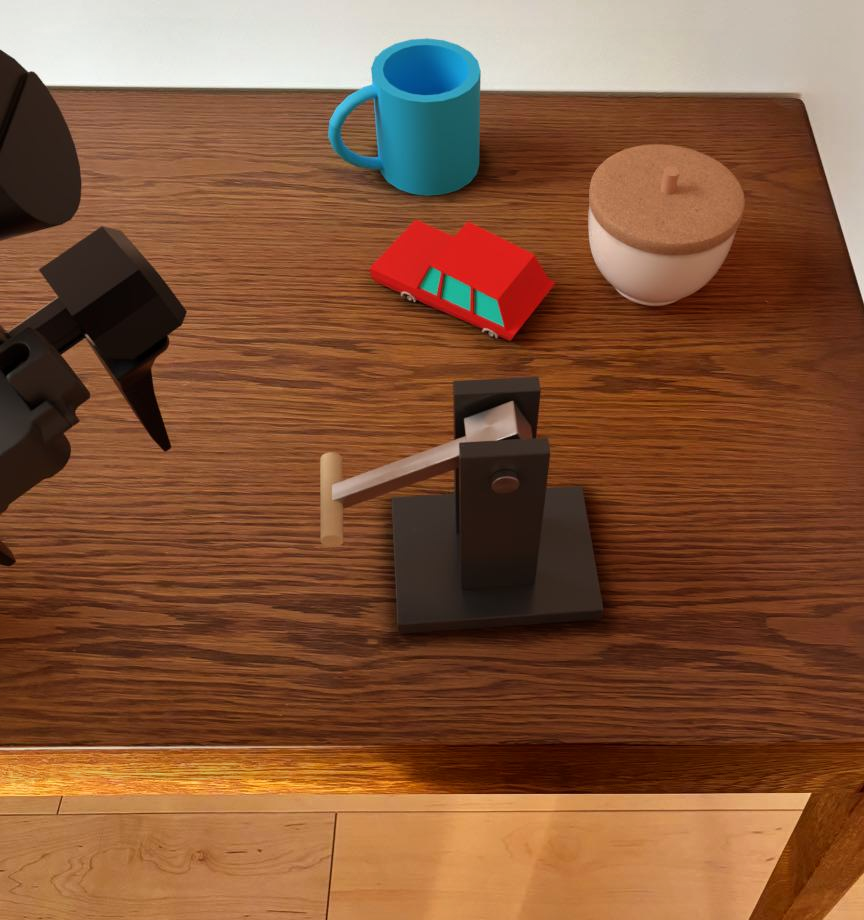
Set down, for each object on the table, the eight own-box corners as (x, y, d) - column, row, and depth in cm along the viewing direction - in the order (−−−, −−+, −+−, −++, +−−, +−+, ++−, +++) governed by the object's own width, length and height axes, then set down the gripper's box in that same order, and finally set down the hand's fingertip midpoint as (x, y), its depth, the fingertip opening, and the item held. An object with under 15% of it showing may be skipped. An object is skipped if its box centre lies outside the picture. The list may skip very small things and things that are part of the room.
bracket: (398, 634, 59) (382, 496, 47) (392, 507, 64) (376, 354, 52) (601, 619, 60) (634, 481, 48) (580, 496, 65) (605, 343, 53)
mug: (461, 124, 85) (461, 31, 78) (492, 184, 81) (495, 91, 74) (322, 150, 83) (309, 55, 76) (346, 213, 79) (335, 119, 72)
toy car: (418, 236, 78) (416, 192, 74) (555, 294, 75) (560, 251, 71) (370, 286, 74) (366, 243, 71) (512, 349, 71) (515, 307, 68)
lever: (334, 555, 54) (309, 534, 52) (333, 473, 57) (310, 450, 55) (540, 485, 51) (521, 460, 49) (527, 401, 54) (509, 375, 52)
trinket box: (630, 348, 72) (651, 243, 64) (552, 256, 77) (562, 149, 69) (750, 298, 75) (783, 193, 67) (667, 213, 80) (690, 106, 72)
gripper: (-367, 556, 32) (-24, 736, 44) (127, 216, 34) (316, 477, 47) (-395, 378, 38) (-88, 580, 51) (24, 102, 41) (216, 360, 53)
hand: (89, 501), depth 50 cm, fingers open, 9 cm apart
